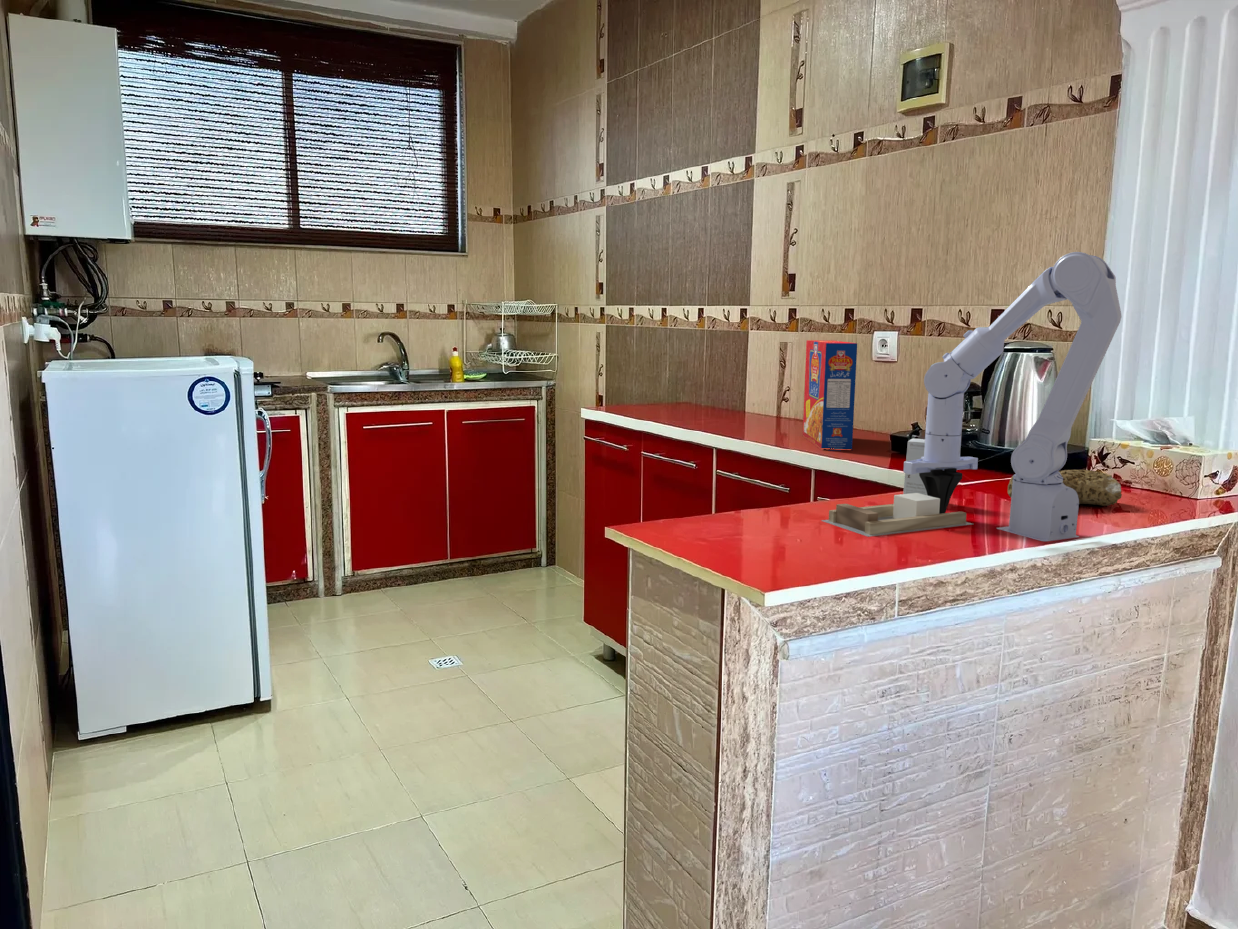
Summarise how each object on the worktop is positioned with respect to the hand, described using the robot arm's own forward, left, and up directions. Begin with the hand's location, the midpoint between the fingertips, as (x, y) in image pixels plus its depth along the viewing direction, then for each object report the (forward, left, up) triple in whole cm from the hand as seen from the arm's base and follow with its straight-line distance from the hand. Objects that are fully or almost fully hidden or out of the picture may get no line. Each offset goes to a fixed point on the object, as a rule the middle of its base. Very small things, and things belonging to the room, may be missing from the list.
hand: (938, 512), depth 151 cm
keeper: (0, +5, -1) cm, 5 cm away
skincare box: (+11, -7, -2) cm, 14 cm away
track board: (0, +9, -1) cm, 9 cm away
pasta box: (+86, -42, -2) cm, 96 cm away
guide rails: (0, +9, -1) cm, 9 cm away
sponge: (+2, -32, -2) cm, 32 cm away
